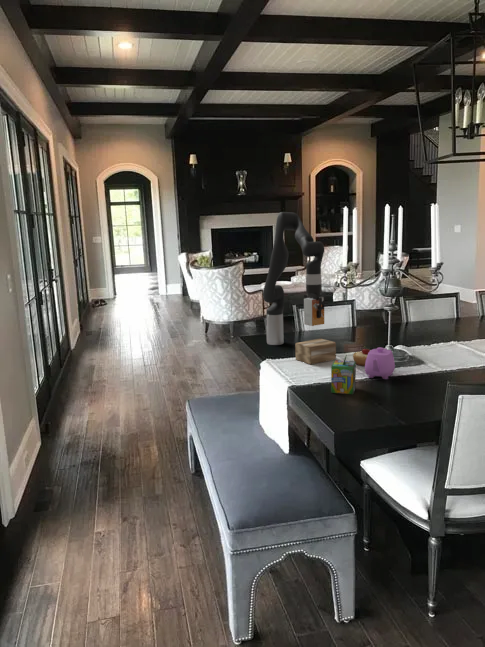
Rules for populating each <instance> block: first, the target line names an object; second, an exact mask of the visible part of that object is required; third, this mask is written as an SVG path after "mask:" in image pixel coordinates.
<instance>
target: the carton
mask: <svg viewBox="0 0 485 647" xmlns="http://www.w3.org/2000/svg"><path fill="white" fill-rule="evenodd" d="M294 348H295V351H294V352H295V354H294V355H295V361H298V362H301V363H303V362H304V364H307V365H315V364H321V363H326V362H330V361H334V360H335V359H337V344H336V343H335V344H331V345H326V346H320V347H315V348H307V347H303V346H300V345H297V344H296V343H295V346H294Z"/></svg>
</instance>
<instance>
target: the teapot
mask: <svg viewBox="0 0 485 647" xmlns="http://www.w3.org/2000/svg"><path fill="white" fill-rule="evenodd" d="M369 350H370V351H369V353H368V355H367V358H366V362H365V366H364V372H365V374H366V375H367V377H368V378H370V379H372V378H373V379H374V377H381V378H382V379H383V380H389V377H390V376H391V375H393V373H394V372H395V368H396V365H395V364H396V363H395V359H394V354H393V351H392V350H391V349H388V348H386V347H385V348H384V347H383V346H382V347H380V346H379V347H376V348H373V349H369Z"/></svg>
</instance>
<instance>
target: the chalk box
mask: <svg viewBox="0 0 485 647" xmlns="http://www.w3.org/2000/svg"><path fill="white" fill-rule="evenodd" d="M346 359H347V354H345V357H344V360H341V359H340V360H333V362H332V364H331V370H330V371H331V373H330V374H331V376H330V378H331V379H330V380H331V382H330V386H331V387H330V393H331V394H342V395H346V394H347V395H354V393H355V390H356V379H357V378H356V377H357V376H356V373H357V369H356V368H357V367H356V366H357V364H356V361H354V360H346Z"/></svg>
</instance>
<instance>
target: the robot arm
mask: <svg viewBox="0 0 485 647" xmlns="http://www.w3.org/2000/svg"><path fill="white" fill-rule="evenodd" d="M285 231H295V233H294V238H295V240H296V242H297V243H298V244H299V246H300V249H301V251H302V252H301V253H302V255H303V256H305V257H307V258H312V257H313V260H310V261H308V262H306V264H305V267H306V268H305V270H306V271H305V272H306V276H305V292H306V294H303V300H304V299H306V298H312V299H316V300H317V301H318V299H319V304H315V305H316V309H317V318H321V310H322V309H324V310H325V301H326V300H325V299H326V298H325V297H324V296H321V294H322V289H323V286H322V283H323V282H322V280H323V278H322V273H321V272H322V261H323V258H324V254H325V245H324V243H323V242H322V241H314V237H313V236H312V234H310V233H309V231H307V229H306V228H305V225H304V224H303V222H302V219H301V218H300V216H299V215H298V214H297V213H296V212H292V211H291V212H287V211H280V212H279V213H278V215H277V217H276V223H275V232H274V240H273V247H272V251H271V255H270V262H269V267H268V272H267V276H266V280H265V283H264V287H263V291H262V299H263V301H264V302H265V303H268V304H269V303H272V304H271V305H270V306H269V307H268V308H267V309H266V327H265V329H266V330H265V331H266V334H265V335H266V343H267V345H269V346H280V345H283V344H284V343H285V342H284V309H285V291H284V288H283V287H282V285H280V284H277V281H278V279H279V278H280V277H281V275H282V274H283V272H284V271H285V270H286V267H287V265H288V260H289V256H290V254H289V250H288V247H287V245H286V242H285V239H284V232H285ZM321 305H322V307H321ZM318 306H319V308H318Z"/></svg>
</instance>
